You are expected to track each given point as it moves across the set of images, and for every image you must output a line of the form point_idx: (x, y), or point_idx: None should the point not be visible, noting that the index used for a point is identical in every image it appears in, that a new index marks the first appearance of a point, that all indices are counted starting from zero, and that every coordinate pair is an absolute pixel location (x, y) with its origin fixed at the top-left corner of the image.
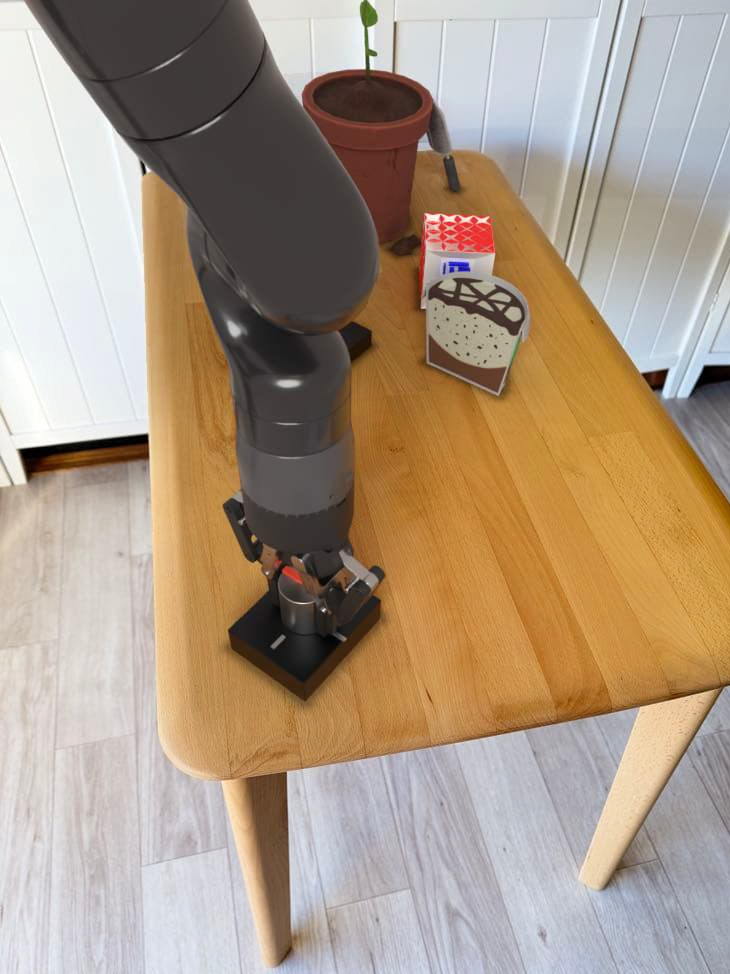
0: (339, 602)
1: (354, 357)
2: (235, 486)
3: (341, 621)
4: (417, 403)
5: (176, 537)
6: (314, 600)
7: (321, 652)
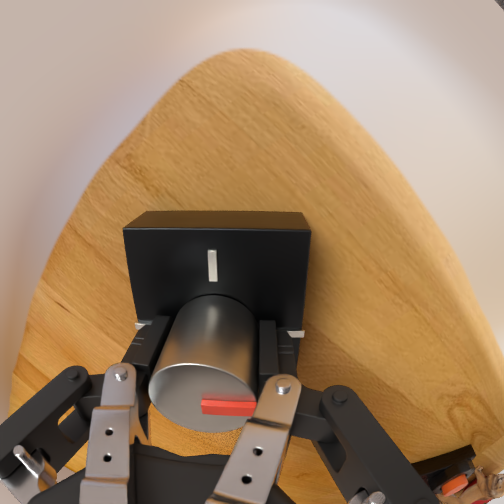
0: (95, 402)
1: None
2: (430, 385)
3: (70, 370)
4: (312, 495)
5: (463, 302)
6: (151, 383)
7: (144, 290)
